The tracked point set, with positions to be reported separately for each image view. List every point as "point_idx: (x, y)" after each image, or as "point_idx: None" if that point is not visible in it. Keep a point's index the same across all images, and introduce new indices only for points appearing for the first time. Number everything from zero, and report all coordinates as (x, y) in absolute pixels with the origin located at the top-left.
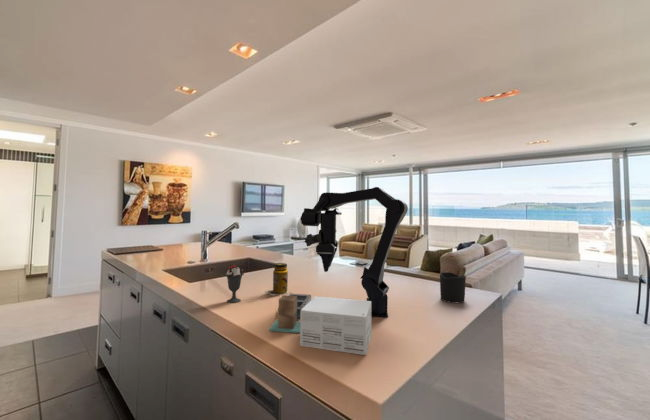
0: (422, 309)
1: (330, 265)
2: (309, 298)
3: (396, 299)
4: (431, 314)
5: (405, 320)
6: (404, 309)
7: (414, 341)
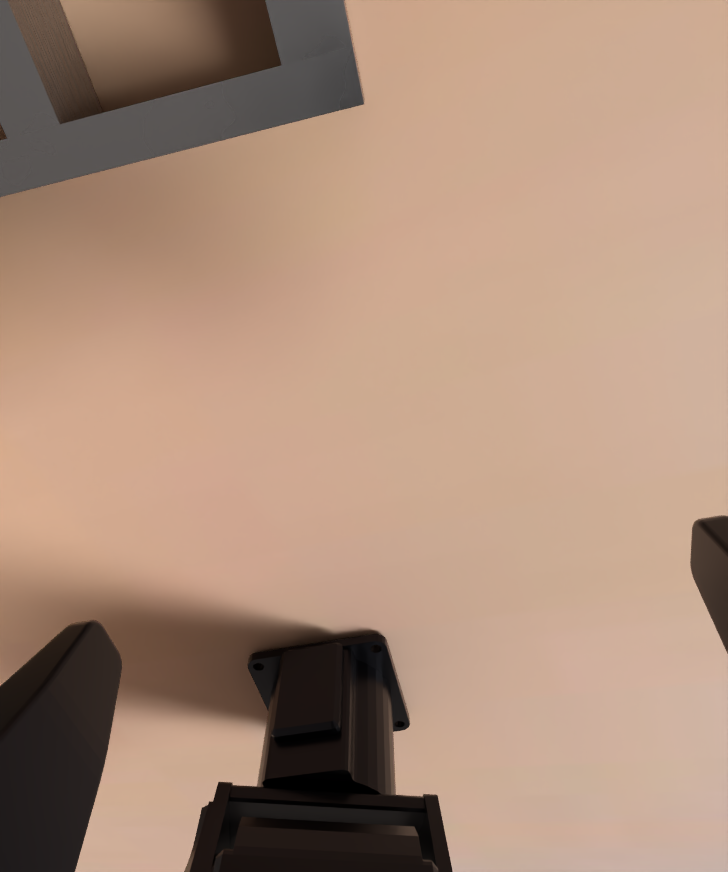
0: (512, 843)
1: (708, 609)
2: (213, 142)
3: (696, 744)
4: None
5: None
6: (479, 785)
7: None
